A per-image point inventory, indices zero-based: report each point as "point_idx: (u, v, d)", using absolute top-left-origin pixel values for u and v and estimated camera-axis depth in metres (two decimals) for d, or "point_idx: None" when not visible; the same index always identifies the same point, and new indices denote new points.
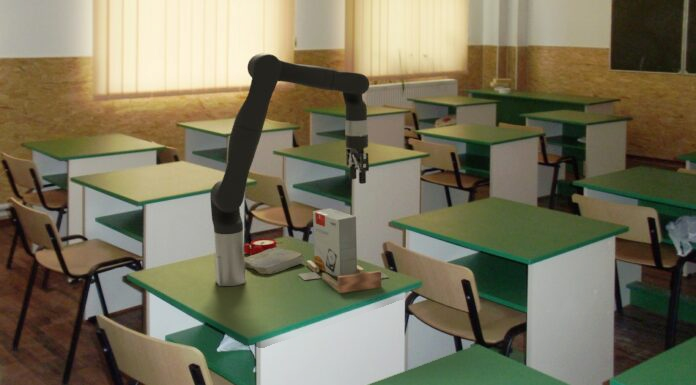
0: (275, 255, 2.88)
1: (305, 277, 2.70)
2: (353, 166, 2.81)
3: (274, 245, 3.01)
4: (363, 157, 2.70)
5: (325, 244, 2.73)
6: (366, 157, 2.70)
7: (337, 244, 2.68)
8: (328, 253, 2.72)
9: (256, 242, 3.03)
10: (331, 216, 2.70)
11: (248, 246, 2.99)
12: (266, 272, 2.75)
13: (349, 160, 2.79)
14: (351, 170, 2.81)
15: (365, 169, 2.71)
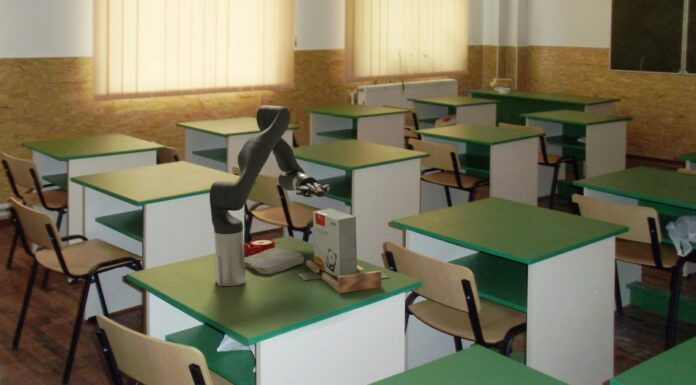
0: (275, 255, 2.88)
1: (305, 277, 2.70)
2: None
3: (273, 245, 3.01)
4: (328, 187, 2.94)
5: (325, 244, 2.73)
6: (328, 189, 2.94)
7: (337, 244, 2.68)
8: (328, 253, 2.72)
9: (254, 242, 3.04)
10: (331, 216, 2.70)
11: (247, 246, 2.99)
12: (266, 272, 2.75)
13: (310, 185, 2.91)
14: None
15: (324, 190, 2.90)
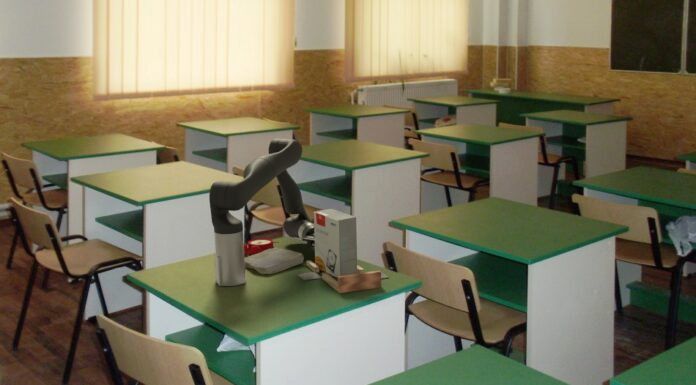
0: (275, 255, 2.88)
1: (305, 277, 2.70)
2: None
3: (271, 245, 3.02)
4: None
5: (326, 245, 2.73)
6: None
7: (337, 245, 2.67)
8: (329, 253, 2.72)
9: (253, 242, 3.04)
10: (331, 216, 2.69)
11: (245, 246, 2.99)
12: (266, 272, 2.75)
13: None
14: None
15: None
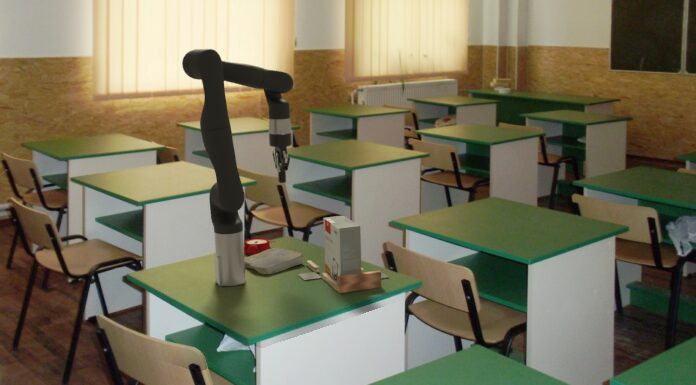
0: (275, 255, 2.88)
1: (305, 277, 2.70)
2: None
3: (268, 244, 3.02)
4: (284, 162, 2.74)
5: (331, 253, 2.63)
6: (287, 162, 2.75)
7: (338, 254, 2.56)
8: (333, 262, 2.62)
9: (249, 241, 3.04)
10: (336, 224, 2.59)
11: None
12: (266, 272, 2.75)
13: (275, 161, 2.80)
14: None
15: (284, 170, 2.77)
